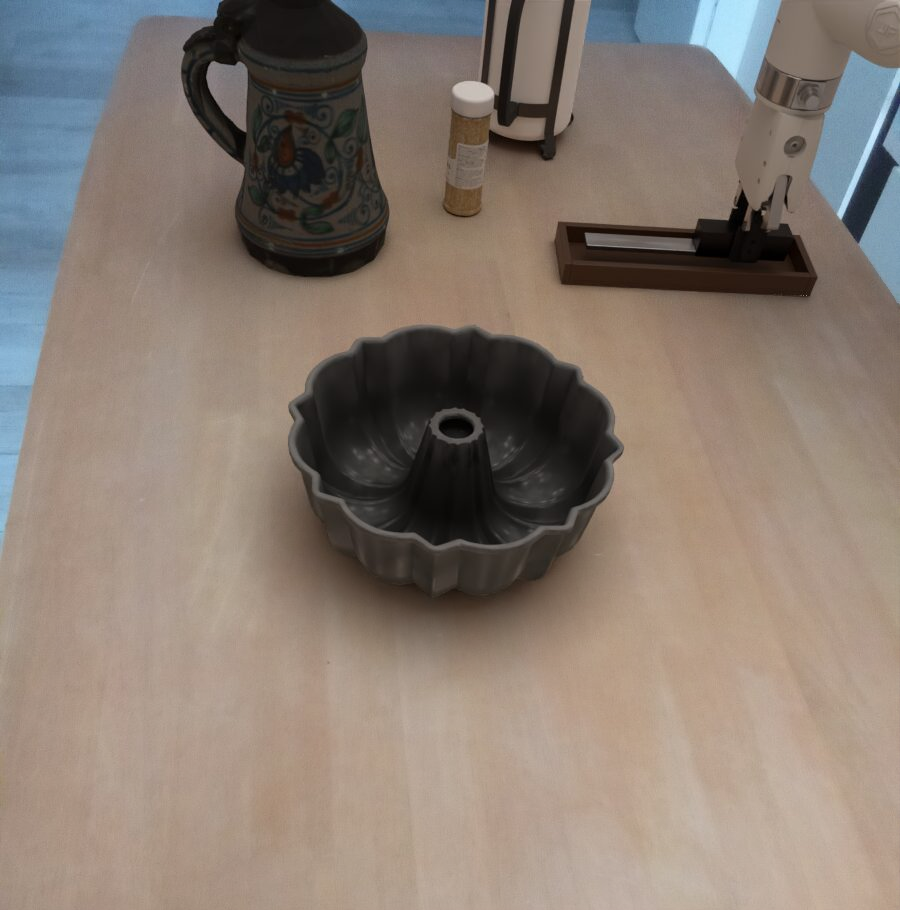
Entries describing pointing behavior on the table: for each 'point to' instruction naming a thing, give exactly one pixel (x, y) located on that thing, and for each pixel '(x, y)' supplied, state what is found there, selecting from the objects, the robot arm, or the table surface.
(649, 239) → the knife
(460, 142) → the sprinkles bottle
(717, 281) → the cutlery tray
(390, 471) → the bundt pan
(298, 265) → the beer stein
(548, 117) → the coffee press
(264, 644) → the table surface
